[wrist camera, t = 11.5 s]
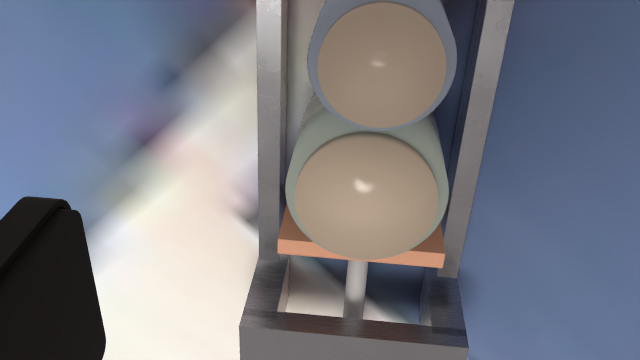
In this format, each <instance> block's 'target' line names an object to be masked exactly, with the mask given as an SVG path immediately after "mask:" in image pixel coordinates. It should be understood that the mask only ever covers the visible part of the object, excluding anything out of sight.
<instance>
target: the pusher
mask: <svg viewBox="0 0 640 360" xmlns="http://www.w3.org/2000/svg"><path fill="white" fill-rule="evenodd" d="M278 254H289V255H301V256H312V257H323V258H334V259H345V260H348V267H347V278H346V290H345V302H344V314H343V318H352V319H362V317H363V308H364V298H365V289H366V280H367V271H368V262H379V263H390V264H402V265H413V266H424V267H435V268H443V264H444V258H445V248H444V242H443V235H442V228H441V222H440V223H439V225H438V226H437V228H436V229H435V230H434V231H433V232H432V234H431V235H430V236H429V237H427V238H426V239H425V240H424V241H423V242H421V243H420V244H419V245H417V246H416V247H414V248H412V249H410V250H409V251H406V252H404V253H401V254H399V255H395V256H392V257H388V258H383V259H375V260H359V259H352V258H348V257H344V256H341V255H338V254H335V253H332V252H330V251H328V250H326V249H324V248H322V247H320V246H319V245H317V244H316V243H314V242H313V241H312V240H311V239H309V238H308V237H307V236H306V235H305V234H304V233H303V232H302V231H301V230H300V228H299V227H298V226H297V224H296V223H295V221H294V219H293V217H292V216H291V213H290V211H289V208H288V205H287V204H286V208H285V212H284V216H283V220H282V224H281V228H280V232H279V236H278Z"/></svg>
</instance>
